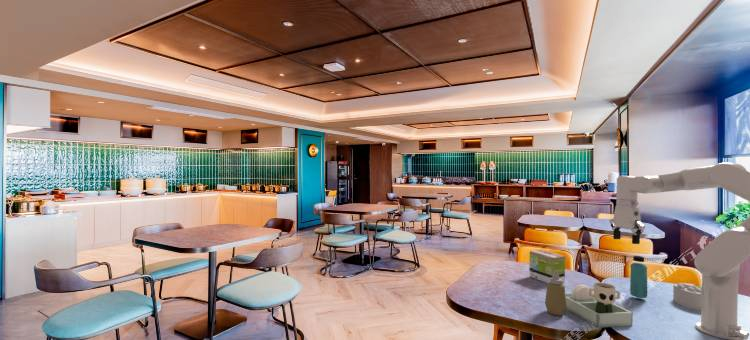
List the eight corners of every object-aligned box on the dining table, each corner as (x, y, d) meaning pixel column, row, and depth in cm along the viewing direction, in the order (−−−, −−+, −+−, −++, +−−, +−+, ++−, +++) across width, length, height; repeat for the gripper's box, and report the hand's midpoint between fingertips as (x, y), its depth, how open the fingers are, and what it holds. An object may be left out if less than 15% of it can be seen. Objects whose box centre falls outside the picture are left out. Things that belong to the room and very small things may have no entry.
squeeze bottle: (547, 307, 149) (547, 266, 149) (568, 312, 144) (568, 270, 144) (542, 313, 143) (543, 270, 142) (564, 319, 137) (565, 274, 137)
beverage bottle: (650, 302, 156) (651, 258, 156) (634, 300, 158) (634, 257, 158) (642, 296, 163) (643, 255, 163) (626, 295, 164) (627, 254, 164)
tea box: (528, 277, 191) (528, 250, 191) (541, 275, 195) (541, 249, 195) (552, 285, 177) (552, 257, 177) (565, 283, 181) (565, 255, 181)
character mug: (591, 319, 135) (592, 286, 135) (585, 312, 142) (586, 281, 142) (623, 323, 132) (624, 289, 132) (616, 315, 139) (616, 283, 139)
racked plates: (595, 307, 147) (595, 286, 147) (576, 308, 145) (577, 287, 145) (589, 304, 150) (590, 284, 150) (571, 305, 149) (571, 285, 149)
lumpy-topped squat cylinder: (697, 301, 159) (697, 282, 159) (715, 312, 146) (715, 292, 146) (669, 298, 162) (670, 279, 162) (685, 308, 149) (685, 289, 149)
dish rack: (632, 325, 133) (632, 312, 133) (597, 327, 130) (598, 314, 130) (589, 303, 154) (589, 292, 154) (558, 304, 152) (559, 293, 152)
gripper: (652, 205, 145) (651, 245, 145) (617, 201, 162) (617, 237, 163) (636, 205, 144) (636, 246, 144) (603, 201, 161) (603, 237, 161)
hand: (626, 241), depth 153 cm, fingers open, 9 cm apart
